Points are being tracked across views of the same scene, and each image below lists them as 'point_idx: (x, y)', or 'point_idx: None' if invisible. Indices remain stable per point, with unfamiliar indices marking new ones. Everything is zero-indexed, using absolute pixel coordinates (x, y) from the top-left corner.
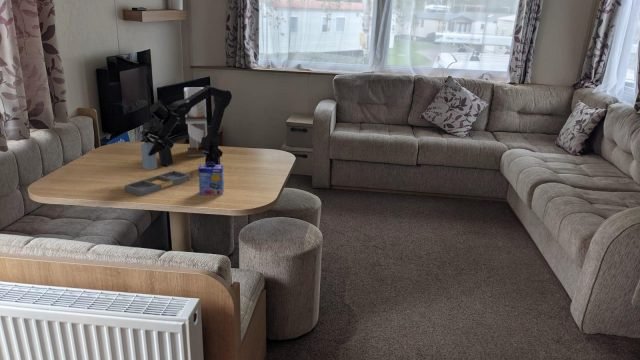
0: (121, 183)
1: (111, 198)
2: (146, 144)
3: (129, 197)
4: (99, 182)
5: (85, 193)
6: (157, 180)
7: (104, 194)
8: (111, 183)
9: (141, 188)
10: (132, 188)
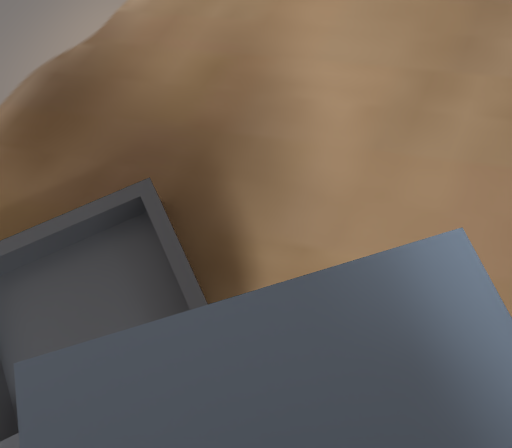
0: (351, 205)
1: (64, 107)
2: (258, 405)
3: (9, 203)
4: (427, 85)
5: (236, 7)
6: None
7: (162, 84)
8: (377, 146)
9: (103, 308)
10: (53, 220)
